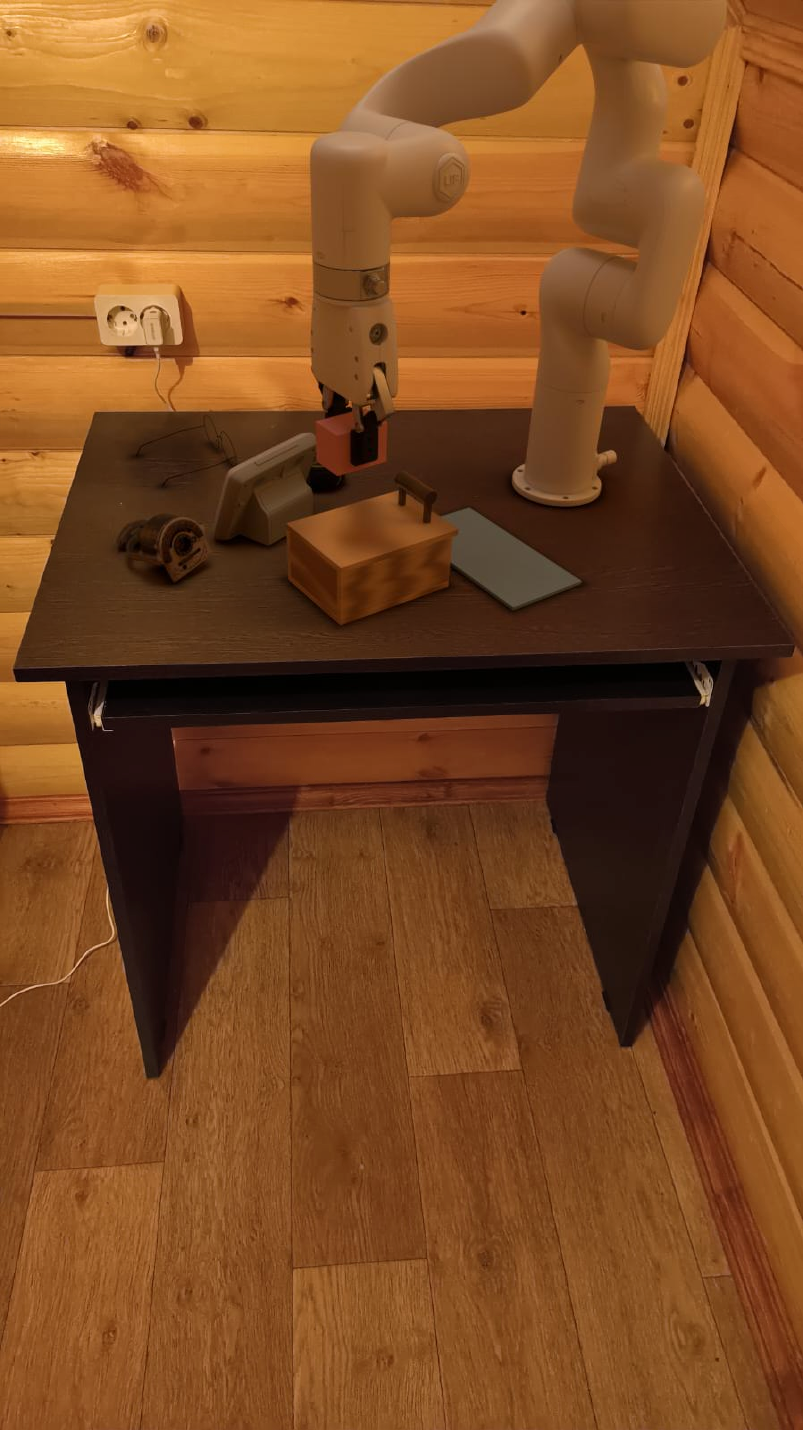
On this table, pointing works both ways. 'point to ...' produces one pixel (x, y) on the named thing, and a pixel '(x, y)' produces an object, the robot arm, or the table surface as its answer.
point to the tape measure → (322, 476)
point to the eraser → (343, 443)
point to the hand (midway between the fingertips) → (351, 451)
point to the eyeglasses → (210, 442)
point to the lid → (375, 527)
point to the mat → (503, 562)
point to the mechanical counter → (167, 543)
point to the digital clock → (267, 492)
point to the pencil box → (368, 579)
